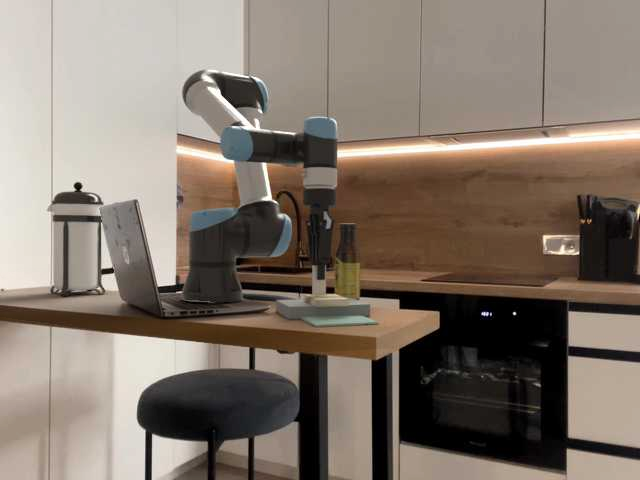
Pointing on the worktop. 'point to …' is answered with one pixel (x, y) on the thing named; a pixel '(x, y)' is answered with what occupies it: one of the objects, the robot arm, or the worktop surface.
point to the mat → (338, 320)
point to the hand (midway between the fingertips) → (318, 294)
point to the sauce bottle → (347, 263)
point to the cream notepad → (326, 300)
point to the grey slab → (320, 309)
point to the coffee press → (77, 242)
